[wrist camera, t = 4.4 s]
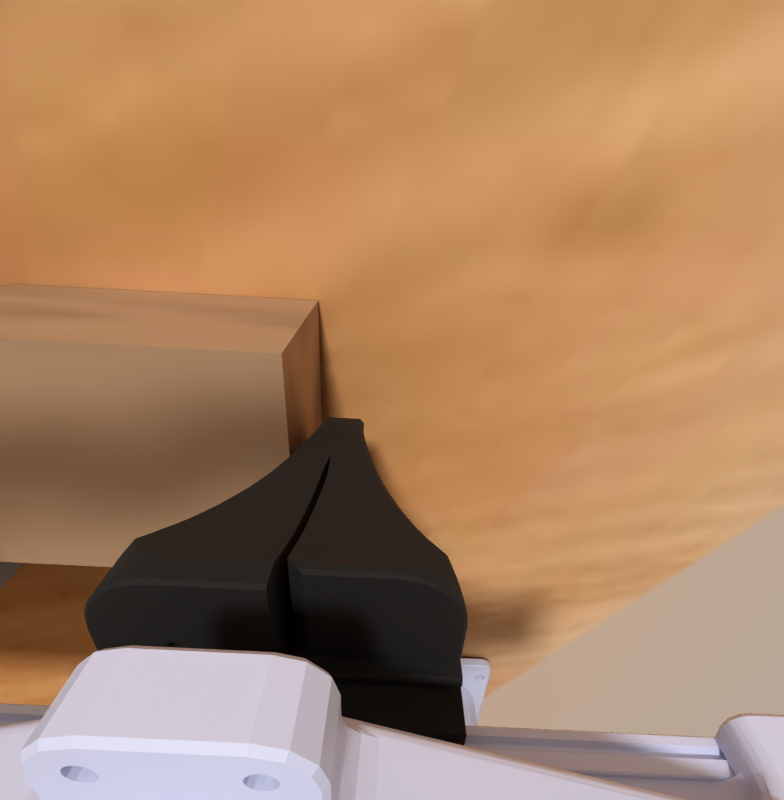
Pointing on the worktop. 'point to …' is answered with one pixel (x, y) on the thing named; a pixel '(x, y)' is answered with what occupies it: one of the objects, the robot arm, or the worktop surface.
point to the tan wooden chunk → (142, 411)
